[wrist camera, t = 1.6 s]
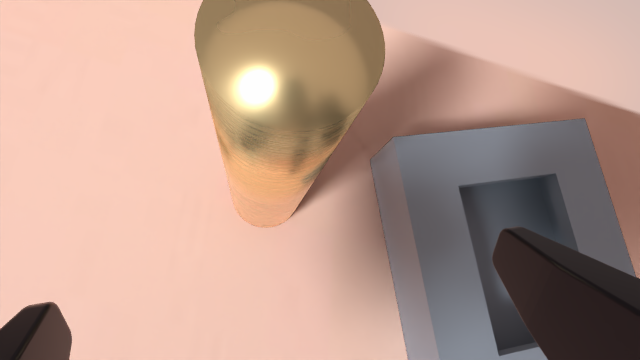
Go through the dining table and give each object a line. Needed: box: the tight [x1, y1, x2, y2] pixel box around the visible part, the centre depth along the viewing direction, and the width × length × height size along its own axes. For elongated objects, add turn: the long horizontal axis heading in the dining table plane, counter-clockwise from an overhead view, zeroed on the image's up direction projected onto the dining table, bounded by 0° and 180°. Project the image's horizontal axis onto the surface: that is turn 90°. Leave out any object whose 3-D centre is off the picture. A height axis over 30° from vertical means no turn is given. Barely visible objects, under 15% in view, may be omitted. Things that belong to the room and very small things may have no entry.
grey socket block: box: [370, 118, 636, 360], centre depth 18 cm, size 12×10×4 cm
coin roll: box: [194, 0, 385, 228], centre depth 13 cm, size 3×3×13 cm
